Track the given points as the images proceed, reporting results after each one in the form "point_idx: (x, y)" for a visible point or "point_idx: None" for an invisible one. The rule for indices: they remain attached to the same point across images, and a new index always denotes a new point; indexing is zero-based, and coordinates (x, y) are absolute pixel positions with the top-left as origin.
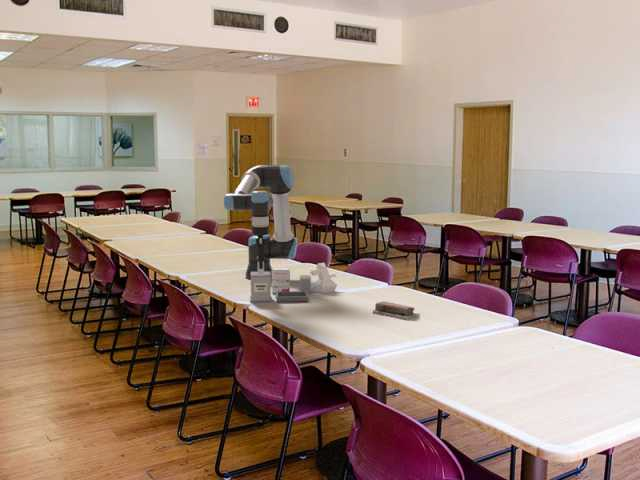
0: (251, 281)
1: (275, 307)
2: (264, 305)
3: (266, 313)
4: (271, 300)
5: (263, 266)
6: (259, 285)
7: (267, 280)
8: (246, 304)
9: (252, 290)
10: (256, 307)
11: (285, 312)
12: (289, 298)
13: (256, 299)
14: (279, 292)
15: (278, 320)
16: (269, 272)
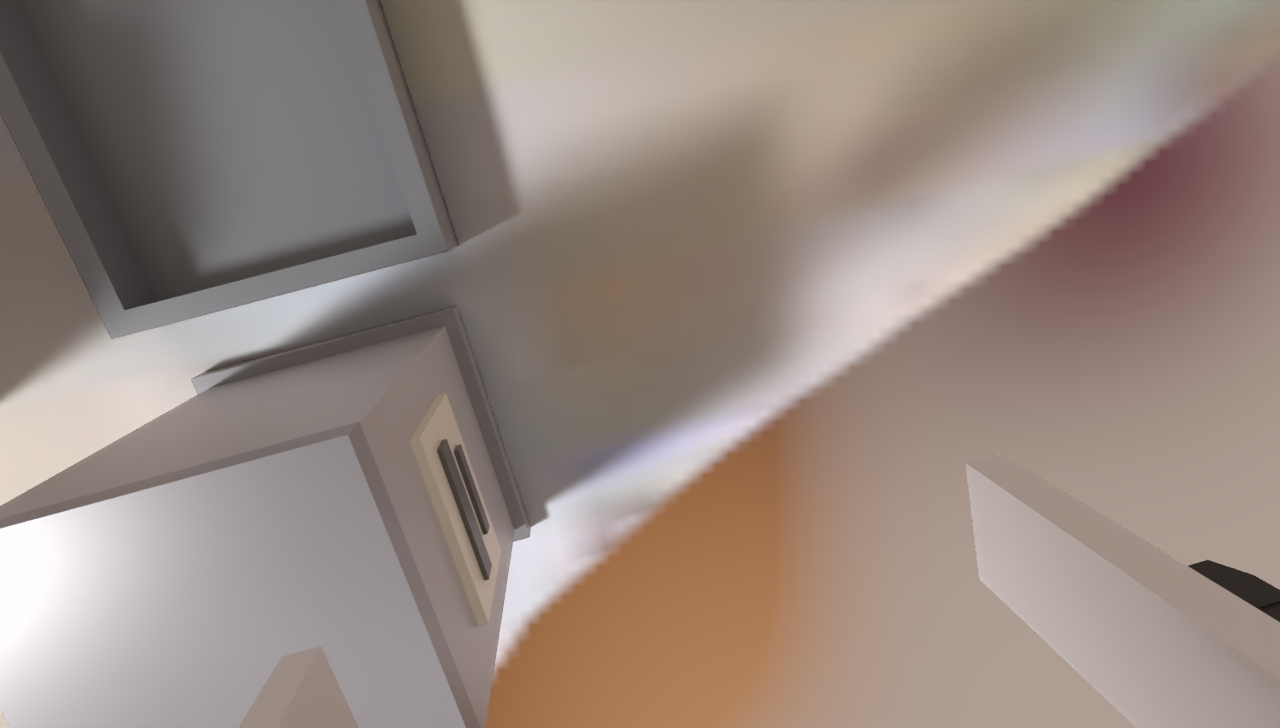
0: (487, 679)
1: (697, 207)
2: (623, 350)
3: (962, 245)
4: (450, 314)
5: (1196, 587)
6: (471, 533)
7: (396, 454)
8: (610, 538)
9: (498, 582)
10: (723, 409)
11: (914, 39)
12: (392, 75)
13: (494, 483)
14: (115, 282)
15: (1235, 54)
16: (31, 539)
